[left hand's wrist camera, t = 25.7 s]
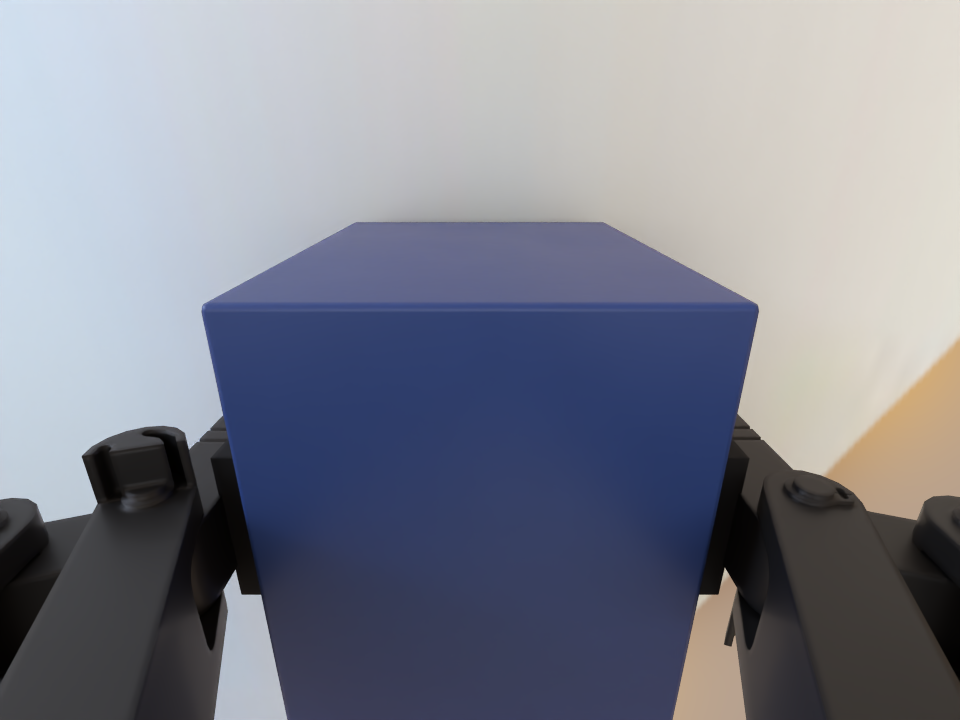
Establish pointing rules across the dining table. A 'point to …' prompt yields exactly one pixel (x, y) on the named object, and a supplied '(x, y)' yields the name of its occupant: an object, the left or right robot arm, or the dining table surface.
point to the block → (480, 466)
